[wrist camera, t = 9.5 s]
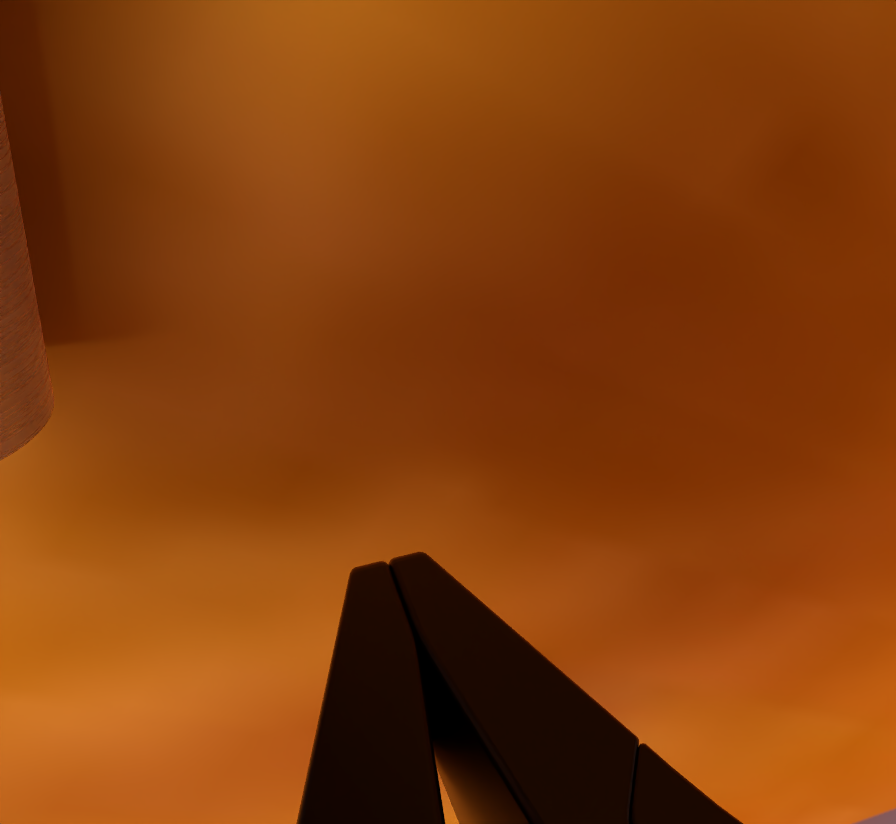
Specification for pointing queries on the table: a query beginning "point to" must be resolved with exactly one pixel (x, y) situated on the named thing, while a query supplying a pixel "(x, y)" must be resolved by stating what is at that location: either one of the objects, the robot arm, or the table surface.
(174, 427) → the table surface
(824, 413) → the table surface
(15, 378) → the valve
